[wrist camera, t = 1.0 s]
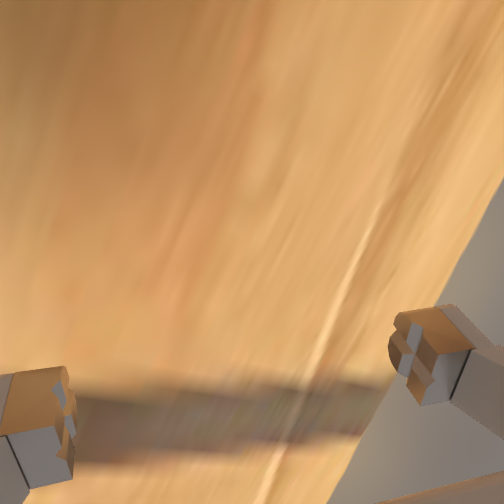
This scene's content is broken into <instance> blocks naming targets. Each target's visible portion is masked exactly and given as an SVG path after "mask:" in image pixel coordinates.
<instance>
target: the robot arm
mask: <svg viewBox="0 0 504 504" xmlns="http://www.w3.org/2000/svg"><path fill="white" fill-rule="evenodd" d="M394 326H395V327H396V329H397V330H396V331H395V332H394V333H393V334H392V335H391V336H390V339H389V344H388V351H389V357H390V360H391V362H392V365H393V366H394V368H395V369H396V371H397V372H398V373H400V374H401V375H403V376H405V377H407V384H406V386H407V387H408V389H409V390H410V392H411V393H412V395H413V396H414V398H415V399H416V401H417V402H418V404H419V405H420V406H424V405H430V404H435V403H441V402H446V401H451V402H450V403H452V404H453V405H454V406H456V407H457V408H459V409H460V410H462V411H463V412H465V413H466V414H468V415H469V416H470V417H472V418H473V419H475V420H476V421H477V422H479V423H480V424H482V425H483V426H485V427H486V428H487V429H489V430H490V431H492V432H493V433H495V434H496V435H497V436H499V437H500V438H502V439H503V440H504V347H503V346H501V345H496V346H495V345H493V344H492V342H491V341H490V340H489V339H488V338H487V337H486V336H485V335H484V334H483V333H482V332H481V331H480V330H479V329H478V328H477V327H476V326H475V325H474V324H473V323H472V322H471V321H470V320H469V319H468V318H467V317H466V316H465V314H464V313H463V312H462V311H461V310H460V309H459V308H458V307H457V306H455V305H453V304H448V305H442V306H436V307H430V308H424V309H418V310H412V311H406V312H400V313H398V315H397V316H396V317H395V320H394ZM68 385H69V375H68V372H67V369H66V367H65V366H59V367H51V368H44V369H36V370H29V371H22V372H15V373H10V374H3V375H0V504H22V503H23V502H24V500H25V499H26V497H27V496H28V494H29V493H30V491H29V489H34V488H38V487H42V486H46V485H51V484H55V483H59V482H63V481H67V480H72V479H73V467H74V456H75V450H74V446H73V443H72V440H71V439H72V438H73V437H74V435H75V434H76V432H77V407H76V400H75V396H74V392H73V390H71V389H69V388H68ZM375 504H504V471H500V472H496V473H492V474H489V475H485V476H481V477H477V478H473V479H469V480H465V481H461V482H457V483H454V484H450V485H446V486H442V487H438V488H434V489H430V490H426V491H423V492H419V493H414V494H411V495H407V496H403V497H399V498H395V499H392V500H387V501H383V502H379V503H375Z"/></svg>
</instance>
